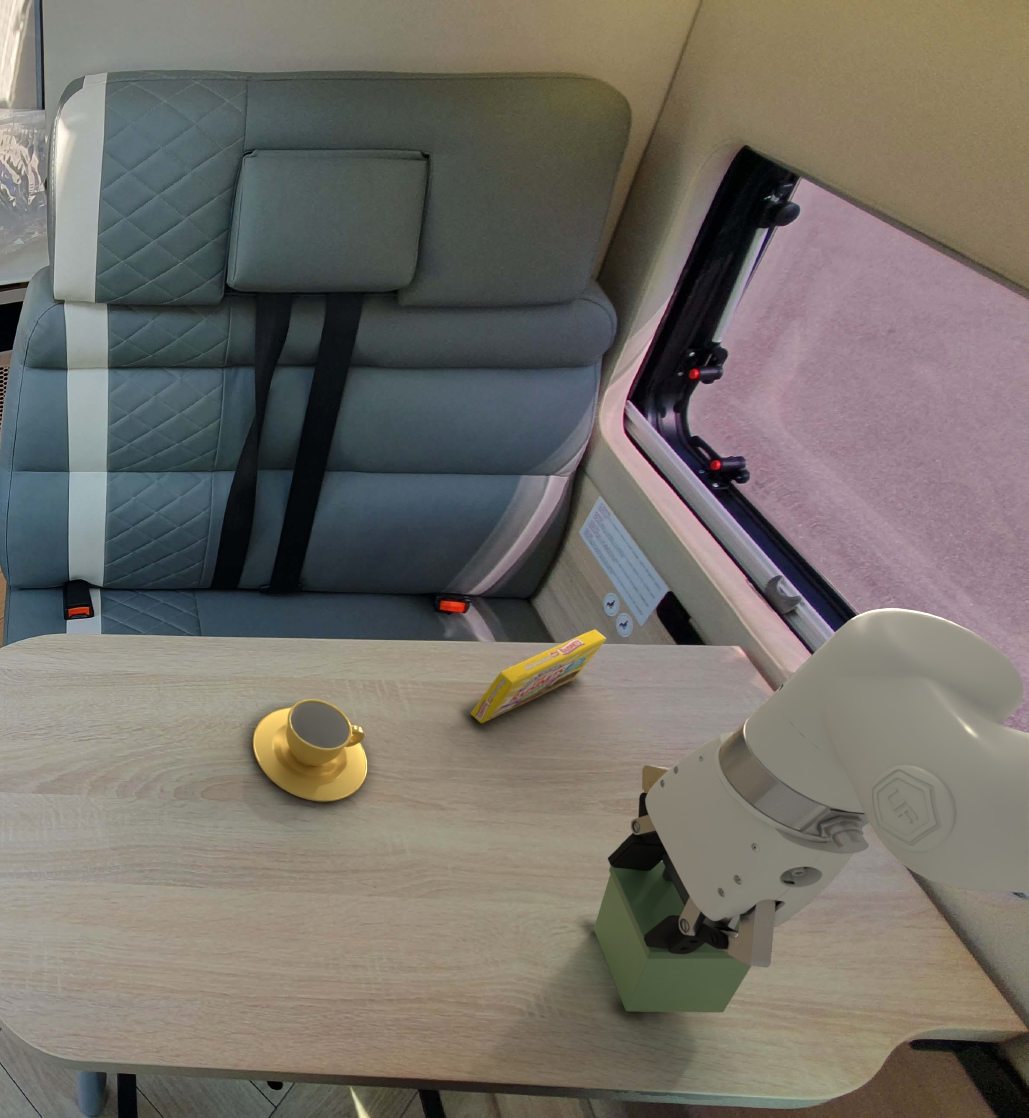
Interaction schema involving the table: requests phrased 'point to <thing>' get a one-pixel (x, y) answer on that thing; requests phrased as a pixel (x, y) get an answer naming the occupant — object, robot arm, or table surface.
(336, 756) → the cup
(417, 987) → the table surface
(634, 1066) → the table surface
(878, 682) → the robot arm
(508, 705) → the candy box
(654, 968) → the lunchbox
